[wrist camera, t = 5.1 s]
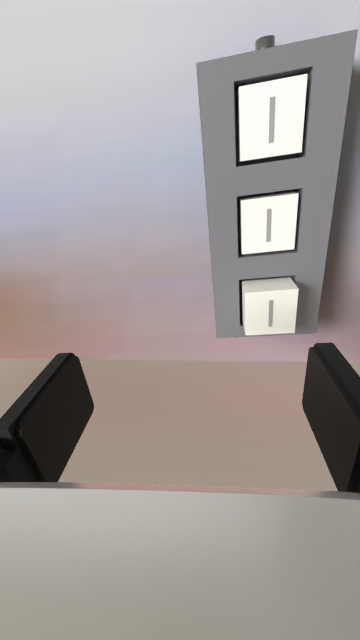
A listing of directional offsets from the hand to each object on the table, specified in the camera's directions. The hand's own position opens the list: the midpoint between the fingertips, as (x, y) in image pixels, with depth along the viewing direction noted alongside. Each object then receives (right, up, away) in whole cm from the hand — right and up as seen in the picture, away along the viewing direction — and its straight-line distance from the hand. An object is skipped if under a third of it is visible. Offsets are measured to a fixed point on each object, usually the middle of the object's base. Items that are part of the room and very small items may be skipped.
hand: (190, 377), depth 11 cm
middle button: (+7, +11, +11) cm, 17 cm away
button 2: (+6, +16, +8) cm, 19 cm away
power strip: (+7, +12, +13) cm, 19 cm away
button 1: (+7, +4, +13) cm, 15 cm away
